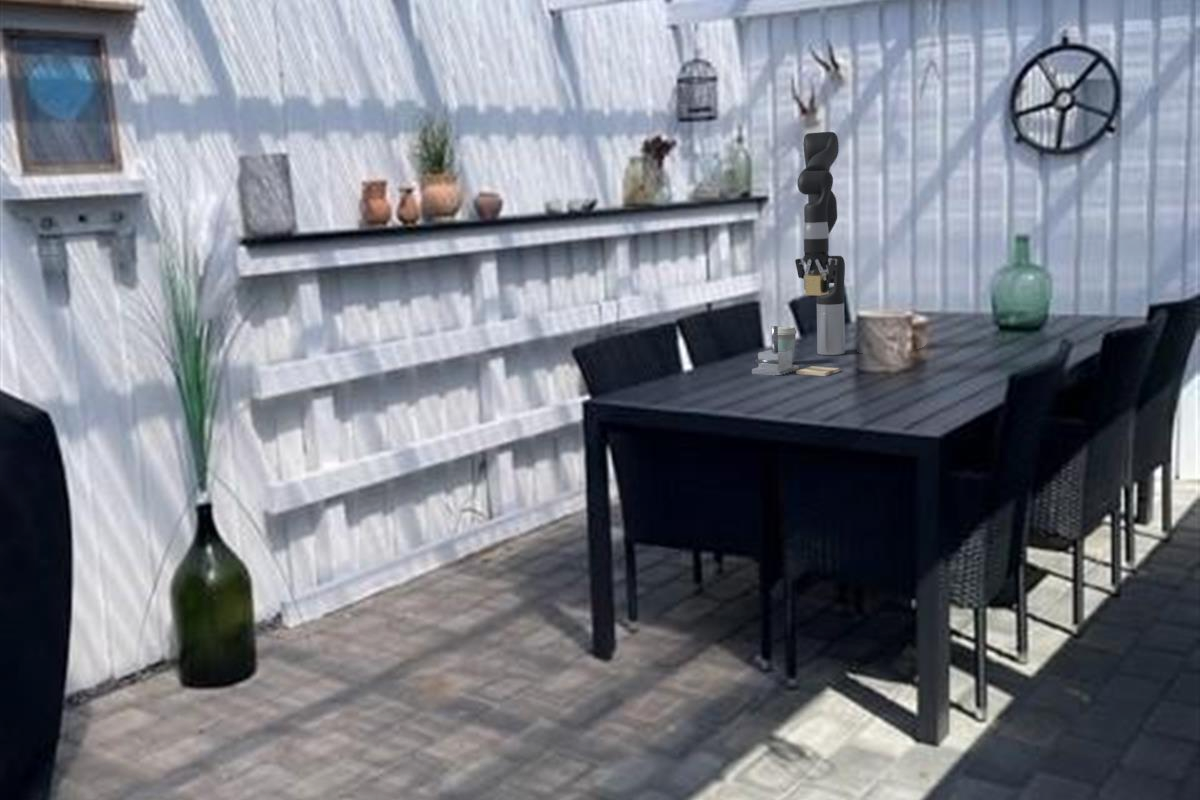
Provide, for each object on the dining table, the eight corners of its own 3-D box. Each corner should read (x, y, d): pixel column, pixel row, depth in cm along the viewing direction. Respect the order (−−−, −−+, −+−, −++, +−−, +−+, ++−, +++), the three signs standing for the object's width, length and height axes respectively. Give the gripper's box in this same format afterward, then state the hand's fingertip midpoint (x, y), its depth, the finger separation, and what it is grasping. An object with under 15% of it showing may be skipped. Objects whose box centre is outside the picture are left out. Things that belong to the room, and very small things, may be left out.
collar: (813, 293, 401) (813, 274, 399) (828, 293, 397) (828, 274, 396) (805, 295, 397) (805, 275, 395) (820, 295, 393) (820, 275, 392)
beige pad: (811, 369, 408) (811, 366, 408) (840, 371, 402) (840, 368, 402) (796, 374, 400) (796, 370, 400) (825, 376, 394) (824, 372, 394)
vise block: (771, 368, 414) (770, 323, 411) (798, 370, 408) (798, 324, 405) (751, 373, 404) (750, 328, 402) (779, 375, 398) (778, 329, 396)
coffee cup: (789, 366, 416) (788, 329, 414) (766, 364, 421) (765, 328, 419) (802, 362, 423) (801, 326, 421) (779, 360, 428) (778, 325, 426)
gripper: (843, 236, 392) (843, 291, 395) (801, 236, 401) (802, 290, 404) (831, 237, 387) (832, 294, 390) (789, 237, 395) (790, 293, 398)
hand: (816, 292), depth 397 cm, fingers closed on collar, 5 cm apart
